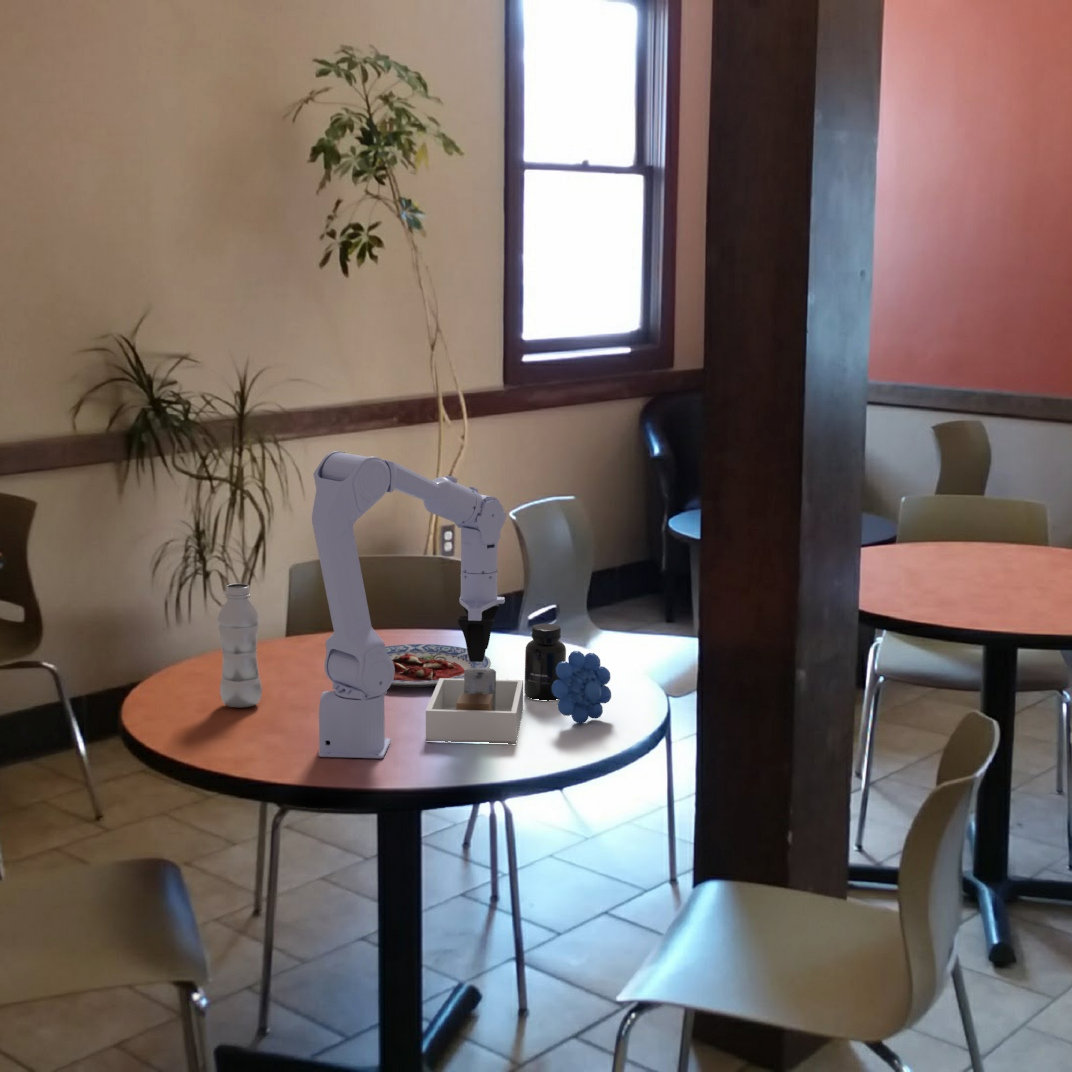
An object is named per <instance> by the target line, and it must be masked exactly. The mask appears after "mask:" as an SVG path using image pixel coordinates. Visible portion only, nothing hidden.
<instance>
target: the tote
mask: <svg viewBox="0 0 1072 1072" xmlns="http://www.w3.org/2000/svg"><path fill="white" fill-rule="evenodd" d="M460 694H464V679H450V678H439V681H438V683H437V685H436V686H435V688H434V690H433V693H432V694H431V697H430V699H429V703H428V704H427V707H426V708H425V742H426V741H445V742H448V741H451V742H489V743H508V744H516V745H517V742H518V737H519V732H520V727H519V726H521V722H520V721H522V717H521V716H523V712H524V680H522V679H521V680H520V679H496V706H495V711H478V710H456V703H457V700H458V698H459V695H460ZM522 711H523V712H522ZM518 731H519V732H518ZM517 736H518V737H517ZM516 741H517V742H516Z"/></svg>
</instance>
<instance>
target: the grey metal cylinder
mask: <svg viewBox="0 0 1072 1072" xmlns="http://www.w3.org/2000/svg"><path fill="white" fill-rule="evenodd" d="M496 680H497V671H496V670H495V669H493V668H483V667H476V668H470V669H467V670H465V671H464V694H490V695H492V711H495V706H496Z"/></svg>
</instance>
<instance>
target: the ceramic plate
mask: <svg viewBox="0 0 1072 1072" xmlns="http://www.w3.org/2000/svg"><path fill="white" fill-rule="evenodd" d="M385 649H386V652H387V654H388V656H389V657H390V658H391V659H392V661H393V663H394V667H395V674H394V679H393V682H392V684H391V685H390V686H395V687H396V686H397V687H403V688H404V687H407V688H421V687H422V688H423V687H425V688H426V686H428V687H436V686H435V685H437V683H438V681H439V678H450V679H464V671H465V670H467V669H470V668H476V667H483V668H490V667H491V665H492V662H491V659H490V658H489V657H488V656H487V655H485V656H484V660H483V662H470V660H469V657H468V652H467V647H461V646H455V645H447V644H436V643H435V644H434V643H432V644H431V643H429V644H427V643H408V644H398V645H397V644H396V645H394V644H393V645H387V646H386V645H385ZM490 669H491V668H490Z"/></svg>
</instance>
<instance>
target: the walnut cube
mask: <svg viewBox="0 0 1072 1072" xmlns="http://www.w3.org/2000/svg"><path fill="white" fill-rule="evenodd" d="M456 710H478V711H492V695H490V694H460V695H459V698H458V700H457V703H456Z"/></svg>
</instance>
